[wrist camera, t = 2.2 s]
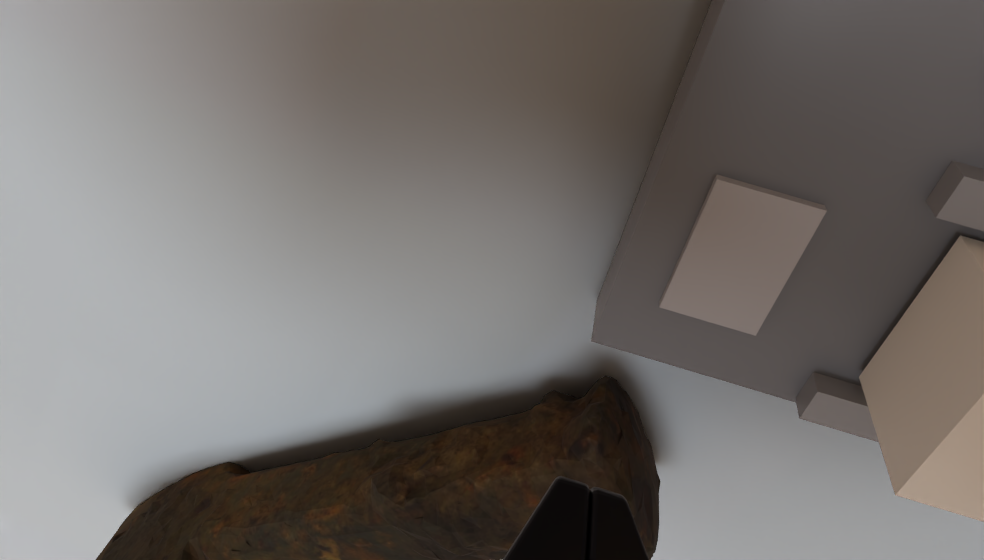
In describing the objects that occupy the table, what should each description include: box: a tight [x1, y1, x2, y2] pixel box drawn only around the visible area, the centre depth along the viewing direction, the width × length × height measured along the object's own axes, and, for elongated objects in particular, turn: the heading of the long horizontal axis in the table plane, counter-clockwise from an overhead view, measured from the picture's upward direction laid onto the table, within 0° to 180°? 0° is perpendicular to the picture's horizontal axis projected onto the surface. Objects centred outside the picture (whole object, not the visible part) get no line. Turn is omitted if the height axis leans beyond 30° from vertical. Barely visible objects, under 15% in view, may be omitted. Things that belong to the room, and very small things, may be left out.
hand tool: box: [96, 376, 660, 560], centre depth 21 cm, size 19×4×5 cm, turn 114°
